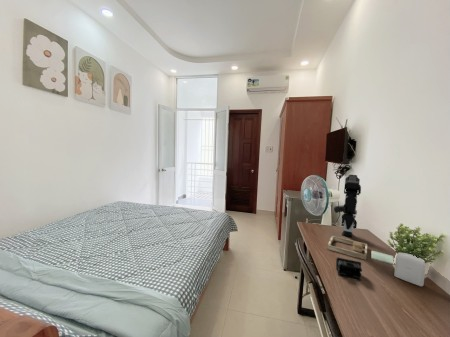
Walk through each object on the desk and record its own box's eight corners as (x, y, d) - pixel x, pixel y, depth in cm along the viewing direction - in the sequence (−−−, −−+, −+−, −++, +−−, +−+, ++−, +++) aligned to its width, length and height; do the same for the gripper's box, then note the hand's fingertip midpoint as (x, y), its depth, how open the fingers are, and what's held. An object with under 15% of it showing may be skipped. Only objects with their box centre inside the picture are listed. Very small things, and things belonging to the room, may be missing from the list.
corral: (331, 239, 138) (332, 235, 137) (367, 248, 126) (367, 244, 126) (327, 249, 124) (327, 245, 123) (366, 260, 112) (366, 255, 112)
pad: (371, 251, 122) (371, 250, 122) (393, 257, 116) (393, 256, 116) (371, 258, 114) (371, 257, 114) (394, 264, 108) (394, 263, 108)
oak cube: (352, 247, 126) (353, 241, 126) (360, 249, 125) (361, 243, 124) (353, 250, 123) (354, 244, 122) (361, 252, 121) (362, 245, 121)
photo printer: (392, 276, 98) (395, 251, 97) (395, 273, 101) (397, 249, 99) (422, 288, 90) (426, 261, 89) (424, 284, 93) (427, 258, 92)
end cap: (358, 272, 100) (359, 259, 100) (362, 281, 94) (363, 267, 93) (335, 267, 104) (336, 255, 103) (337, 275, 98) (338, 262, 97)
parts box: (344, 228, 127) (345, 218, 127) (352, 230, 125) (353, 220, 124) (343, 230, 124) (344, 220, 123) (352, 232, 121) (353, 222, 120)
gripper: (337, 197, 135) (335, 220, 136) (332, 203, 120) (330, 229, 121) (357, 200, 128) (355, 225, 130) (355, 207, 113) (352, 234, 115)
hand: (348, 228), depth 124 cm, fingers closed on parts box, 4 cm apart
